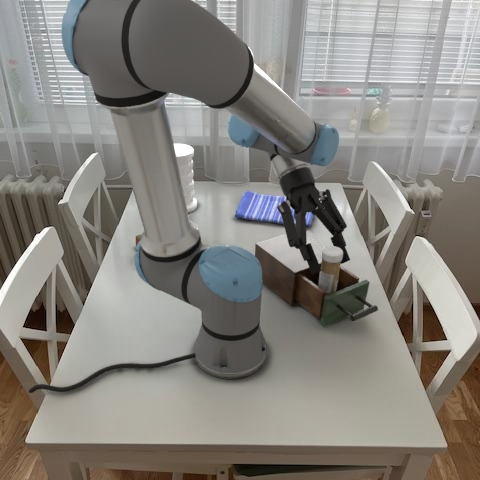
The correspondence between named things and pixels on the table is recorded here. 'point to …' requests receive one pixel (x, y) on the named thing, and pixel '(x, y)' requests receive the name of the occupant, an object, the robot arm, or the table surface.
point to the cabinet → (283, 265)
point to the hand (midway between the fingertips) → (331, 267)
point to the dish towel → (264, 208)
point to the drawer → (334, 297)
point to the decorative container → (186, 173)
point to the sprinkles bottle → (330, 269)
